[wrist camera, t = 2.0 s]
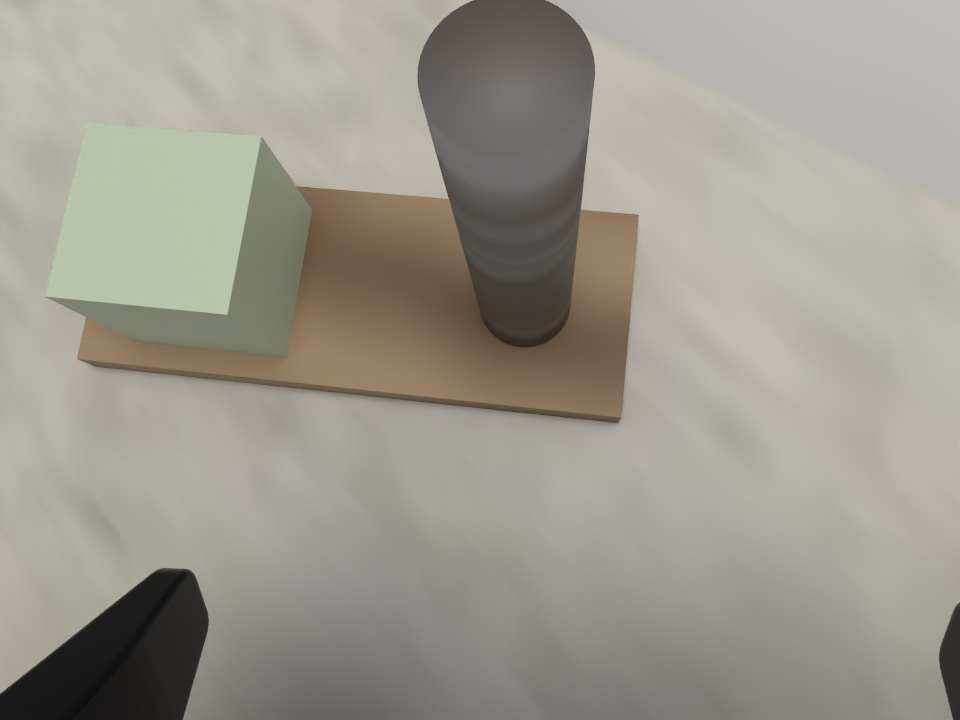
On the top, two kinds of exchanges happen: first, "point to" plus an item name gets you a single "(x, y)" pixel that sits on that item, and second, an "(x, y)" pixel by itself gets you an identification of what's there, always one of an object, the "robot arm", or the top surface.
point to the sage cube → (182, 239)
